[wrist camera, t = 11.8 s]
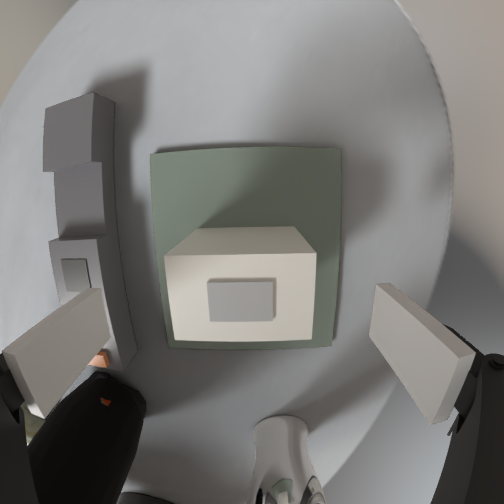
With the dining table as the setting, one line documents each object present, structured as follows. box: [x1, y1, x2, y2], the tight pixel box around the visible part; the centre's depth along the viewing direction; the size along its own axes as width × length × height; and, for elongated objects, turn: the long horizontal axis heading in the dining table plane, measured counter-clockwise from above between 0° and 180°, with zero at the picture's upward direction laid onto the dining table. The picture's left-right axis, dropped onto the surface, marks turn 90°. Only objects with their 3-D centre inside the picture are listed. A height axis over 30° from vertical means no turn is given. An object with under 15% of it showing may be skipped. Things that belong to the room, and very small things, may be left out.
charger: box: [164, 226, 316, 342], centre depth 17 cm, size 4×7×8 cm, turn 91°
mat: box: [150, 147, 341, 350], centre depth 21 cm, size 16×14×1 cm
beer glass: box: [246, 415, 326, 504], centre depth 19 cm, size 7×7×15 cm
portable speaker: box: [27, 372, 146, 504], centre depth 17 cm, size 8×9×19 cm
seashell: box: [21, 401, 46, 444], centre depth 24 cm, size 13×8×10 cm
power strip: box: [43, 92, 138, 371], centre depth 19 cm, size 22×5×4 cm, turn 1°
